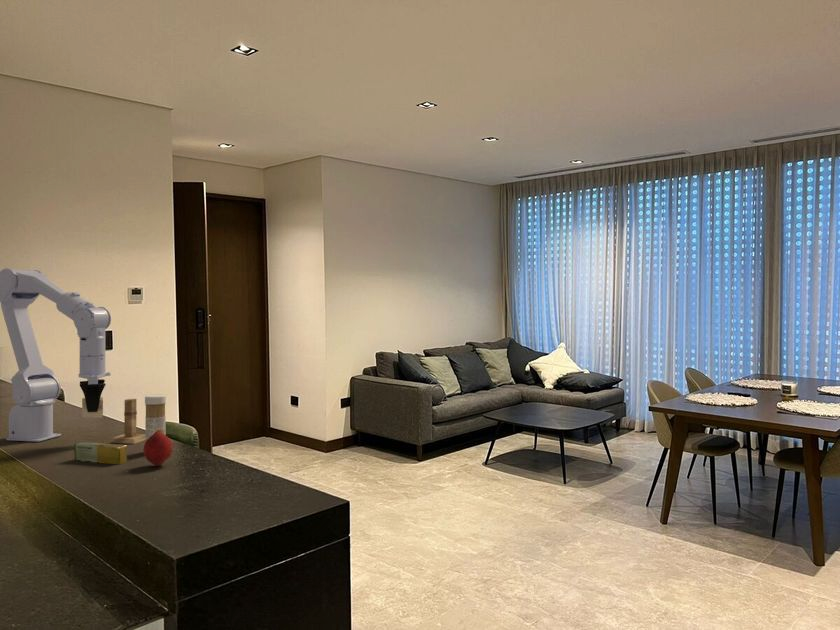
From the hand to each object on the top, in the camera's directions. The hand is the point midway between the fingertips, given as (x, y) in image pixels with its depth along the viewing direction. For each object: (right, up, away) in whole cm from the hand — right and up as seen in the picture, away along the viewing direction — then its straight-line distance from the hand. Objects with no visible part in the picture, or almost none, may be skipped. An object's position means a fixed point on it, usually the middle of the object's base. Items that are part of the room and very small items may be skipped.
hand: (92, 410), depth 156 cm
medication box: (+11, -9, -17) cm, 22 cm away
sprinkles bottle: (+19, -9, -8) cm, 22 cm away
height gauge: (+8, -8, +4) cm, 12 cm away
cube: (0, -2, 0) cm, 2 cm away
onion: (+25, -9, -21) cm, 34 cm away
